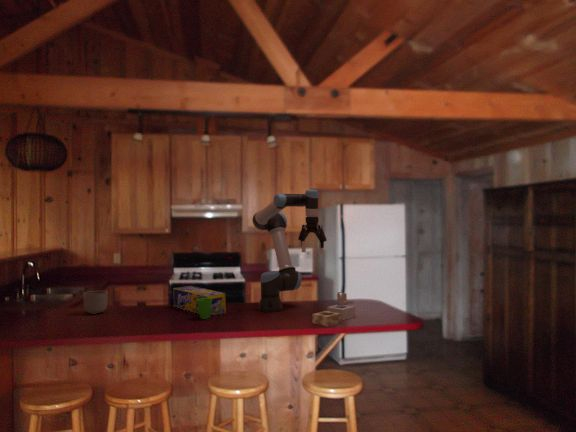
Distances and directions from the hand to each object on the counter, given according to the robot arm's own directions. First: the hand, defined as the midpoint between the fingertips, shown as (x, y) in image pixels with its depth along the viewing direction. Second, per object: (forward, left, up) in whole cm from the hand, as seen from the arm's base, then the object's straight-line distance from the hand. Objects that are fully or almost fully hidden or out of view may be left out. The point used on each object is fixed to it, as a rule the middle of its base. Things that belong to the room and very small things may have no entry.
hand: (312, 253), depth 259 cm
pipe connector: (+5, +24, -36) cm, 44 cm away
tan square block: (+19, -9, -36) cm, 42 cm away
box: (-62, -38, -37) cm, 82 cm away
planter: (-101, -86, -36) cm, 138 cm away
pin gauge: (+16, +6, -36) cm, 40 cm away
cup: (-39, -48, -36) cm, 72 cm away
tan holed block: (+16, +7, -36) cm, 40 cm away
